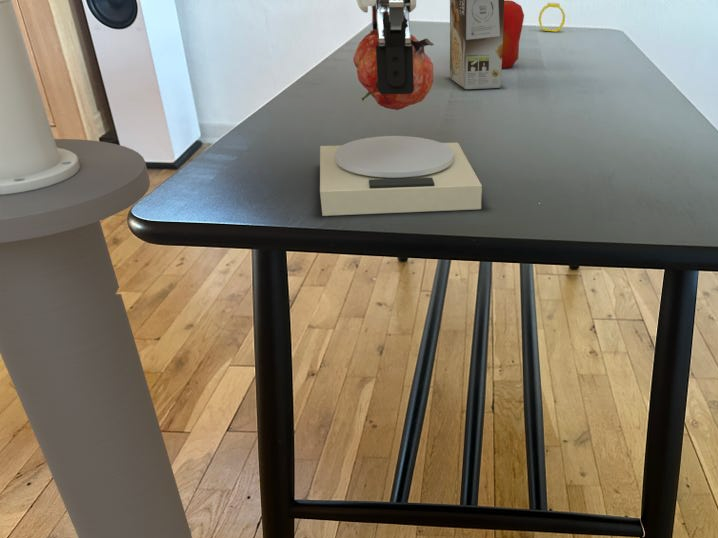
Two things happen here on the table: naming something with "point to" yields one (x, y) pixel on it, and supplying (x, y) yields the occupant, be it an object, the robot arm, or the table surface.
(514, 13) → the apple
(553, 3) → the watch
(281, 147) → the table surface
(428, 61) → the pomegranate
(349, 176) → the scale
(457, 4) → the coffee box
